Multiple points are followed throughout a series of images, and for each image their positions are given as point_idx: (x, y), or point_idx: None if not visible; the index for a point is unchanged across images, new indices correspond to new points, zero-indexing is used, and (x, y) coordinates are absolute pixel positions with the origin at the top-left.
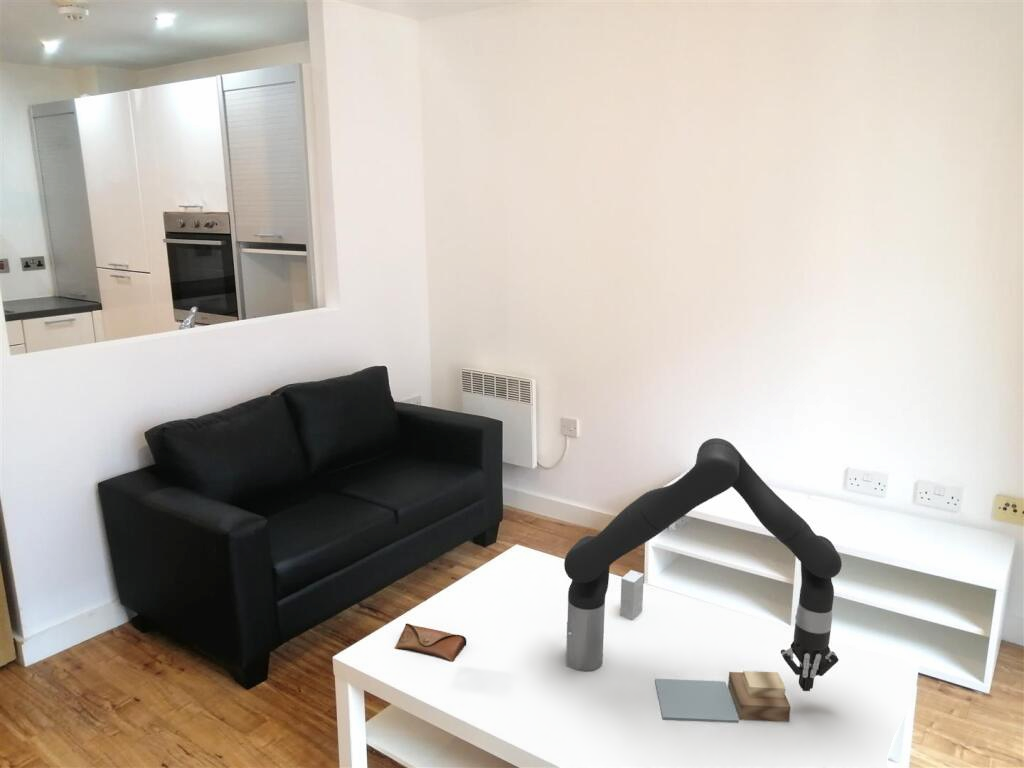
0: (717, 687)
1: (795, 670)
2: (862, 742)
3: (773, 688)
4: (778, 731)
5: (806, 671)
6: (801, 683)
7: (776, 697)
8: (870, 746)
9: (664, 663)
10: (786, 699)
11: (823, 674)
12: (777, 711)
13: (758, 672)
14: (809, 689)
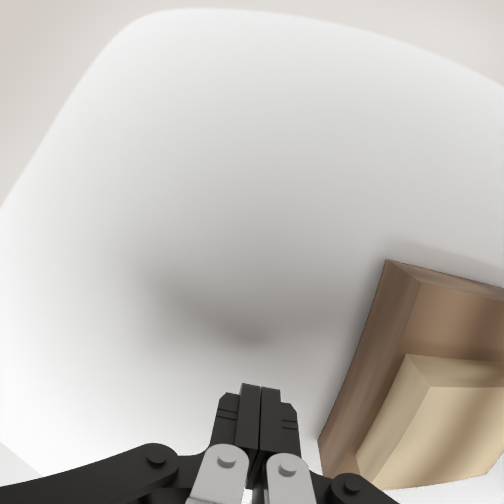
0: None
1: (374, 501)
2: (128, 92)
3: (480, 385)
4: (452, 212)
5: (284, 496)
6: (294, 426)
7: (438, 358)
8: (113, 71)
9: (500, 481)
10: (403, 342)
11: (136, 449)
12: (455, 285)
13: (447, 478)
14: (245, 389)
